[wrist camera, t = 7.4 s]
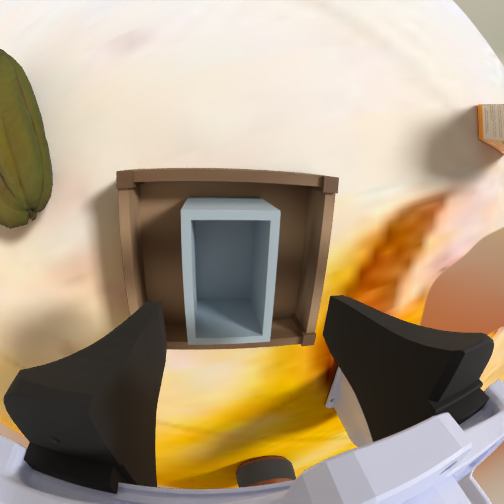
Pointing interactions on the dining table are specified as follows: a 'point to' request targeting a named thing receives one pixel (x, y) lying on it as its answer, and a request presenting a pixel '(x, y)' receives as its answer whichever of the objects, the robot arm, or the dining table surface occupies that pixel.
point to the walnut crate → (170, 248)
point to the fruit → (21, 148)
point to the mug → (265, 471)
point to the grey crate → (229, 268)
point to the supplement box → (492, 125)
